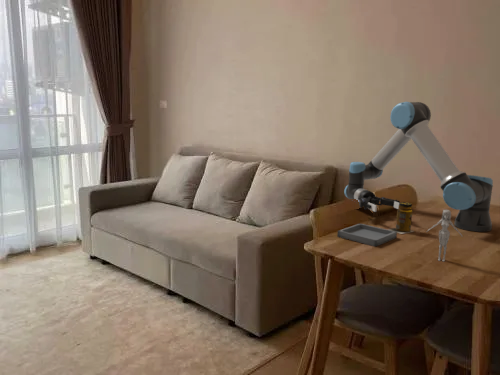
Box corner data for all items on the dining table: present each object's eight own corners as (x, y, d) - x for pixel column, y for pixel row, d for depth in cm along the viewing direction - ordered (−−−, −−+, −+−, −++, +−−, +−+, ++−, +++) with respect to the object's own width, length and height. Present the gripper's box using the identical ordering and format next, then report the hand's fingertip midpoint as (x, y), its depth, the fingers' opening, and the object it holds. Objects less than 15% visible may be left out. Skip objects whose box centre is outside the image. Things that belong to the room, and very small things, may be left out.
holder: (396, 237, 197) (396, 231, 196) (375, 246, 184) (375, 240, 184) (359, 229, 208) (359, 223, 208) (337, 236, 196) (337, 230, 195)
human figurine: (423, 258, 173) (428, 209, 169) (424, 255, 176) (429, 206, 173) (459, 264, 168) (465, 213, 164) (460, 260, 171) (465, 211, 168)
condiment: (414, 231, 207) (417, 204, 204) (401, 234, 202) (404, 206, 200) (401, 227, 213) (403, 200, 210) (387, 230, 208) (390, 202, 206)
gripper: (386, 204, 239) (412, 215, 220) (341, 206, 232) (363, 217, 212) (388, 189, 238) (414, 199, 218) (342, 190, 231) (365, 201, 211)
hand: (389, 208), depth 215 cm, fingers open, 13 cm apart
